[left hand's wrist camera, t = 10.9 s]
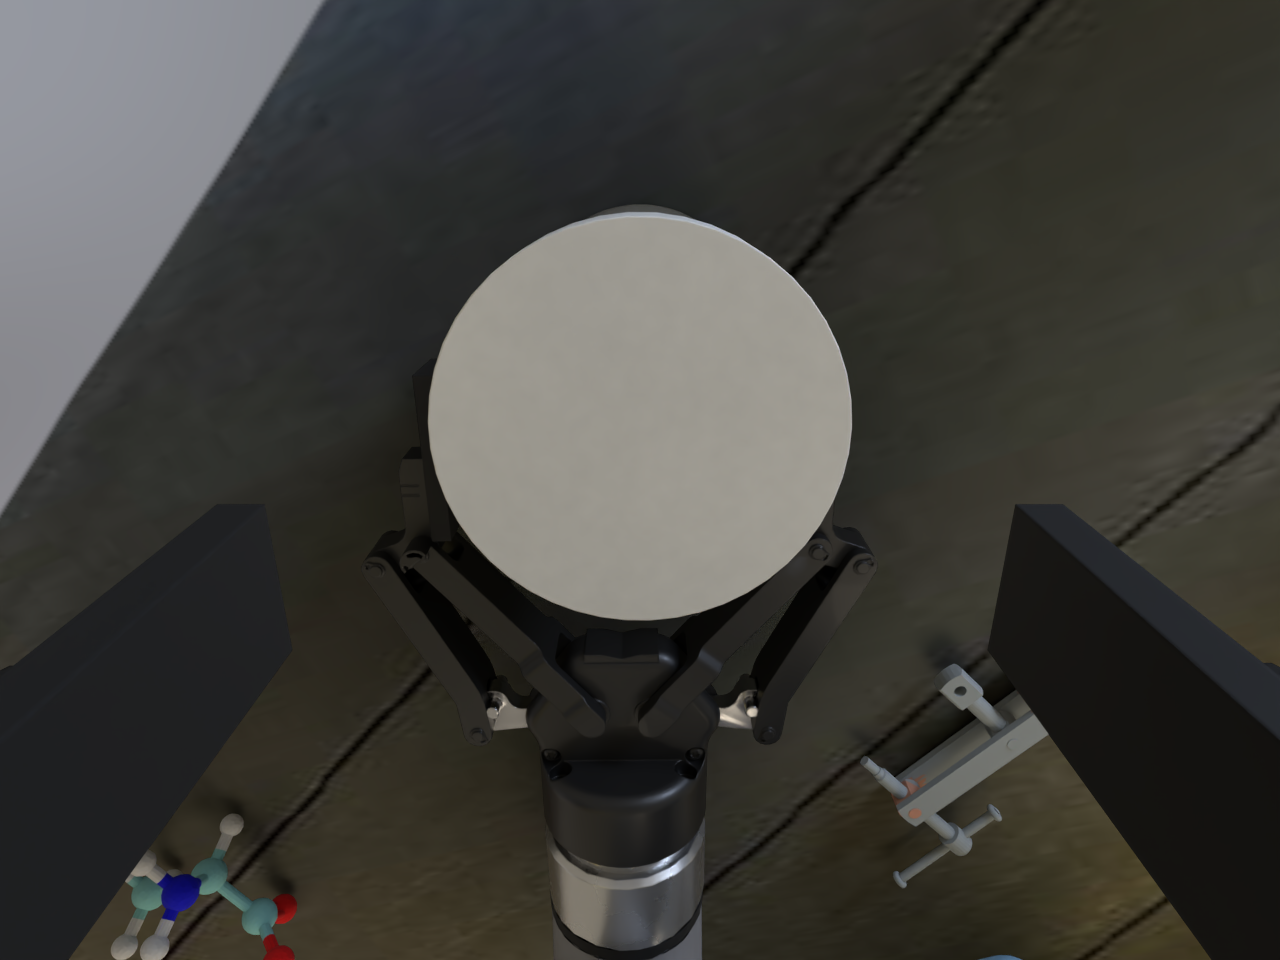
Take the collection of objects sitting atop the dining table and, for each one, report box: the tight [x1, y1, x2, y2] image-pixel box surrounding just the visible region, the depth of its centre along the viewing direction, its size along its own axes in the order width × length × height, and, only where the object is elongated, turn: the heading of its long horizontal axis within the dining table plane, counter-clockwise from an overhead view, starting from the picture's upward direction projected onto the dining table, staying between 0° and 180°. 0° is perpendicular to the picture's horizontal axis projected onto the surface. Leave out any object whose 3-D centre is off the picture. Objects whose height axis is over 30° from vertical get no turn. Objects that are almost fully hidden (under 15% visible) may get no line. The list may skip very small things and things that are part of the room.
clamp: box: [860, 664, 1048, 888], centre depth 43 cm, size 15×2×10 cm
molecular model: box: [111, 814, 297, 960], centre depth 43 cm, size 12×10×10 cm
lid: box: [428, 212, 852, 620], centre depth 21 cm, size 11×11×2 cm
